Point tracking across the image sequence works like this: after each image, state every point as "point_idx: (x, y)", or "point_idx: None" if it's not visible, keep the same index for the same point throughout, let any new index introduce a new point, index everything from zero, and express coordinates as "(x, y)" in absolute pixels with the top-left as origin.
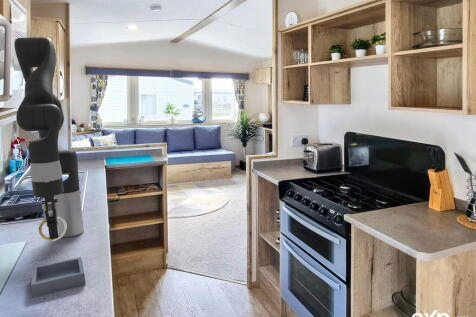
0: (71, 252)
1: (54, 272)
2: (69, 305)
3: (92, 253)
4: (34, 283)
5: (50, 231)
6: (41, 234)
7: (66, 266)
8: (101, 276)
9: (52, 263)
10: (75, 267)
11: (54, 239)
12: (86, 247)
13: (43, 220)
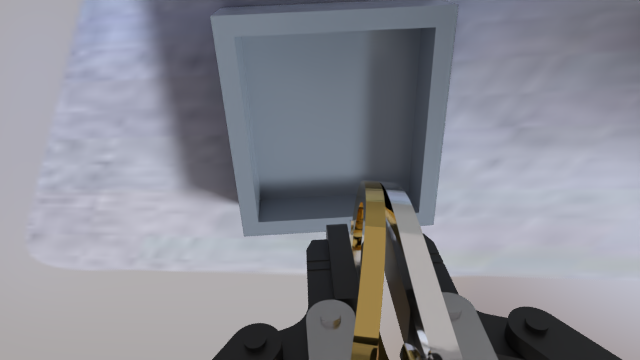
0: (630, 153)
1: (416, 95)
2: (97, 155)
3: (542, 232)
4: (223, 31)
5: (309, 282)
6: (364, 192)
7: (415, 153)
8: (293, 255)
9: (440, 104)
10: (410, 180)
11: (351, 235)
12: (633, 212)
13: (416, 314)
